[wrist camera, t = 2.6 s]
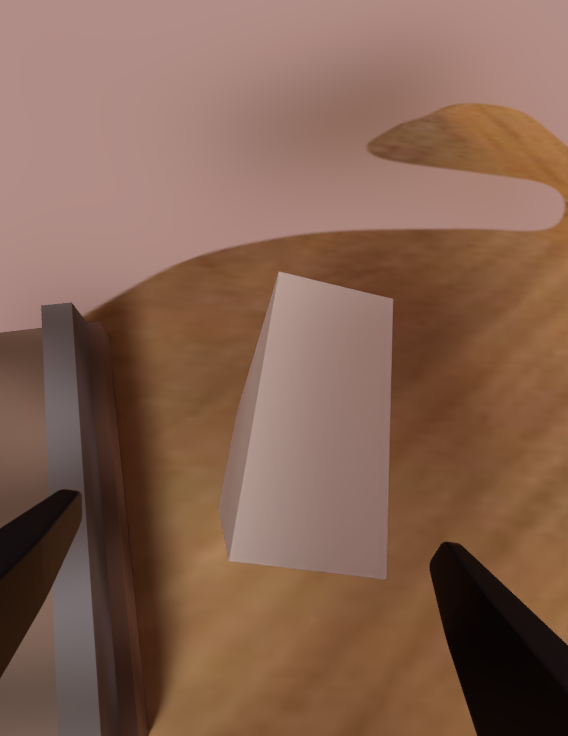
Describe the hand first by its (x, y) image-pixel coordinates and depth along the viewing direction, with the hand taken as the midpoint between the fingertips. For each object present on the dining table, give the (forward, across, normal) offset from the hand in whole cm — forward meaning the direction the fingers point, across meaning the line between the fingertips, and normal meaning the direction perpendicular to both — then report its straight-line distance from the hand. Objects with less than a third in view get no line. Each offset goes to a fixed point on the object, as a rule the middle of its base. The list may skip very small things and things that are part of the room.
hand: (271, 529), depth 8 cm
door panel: (+8, 0, +5) cm, 10 cm away
